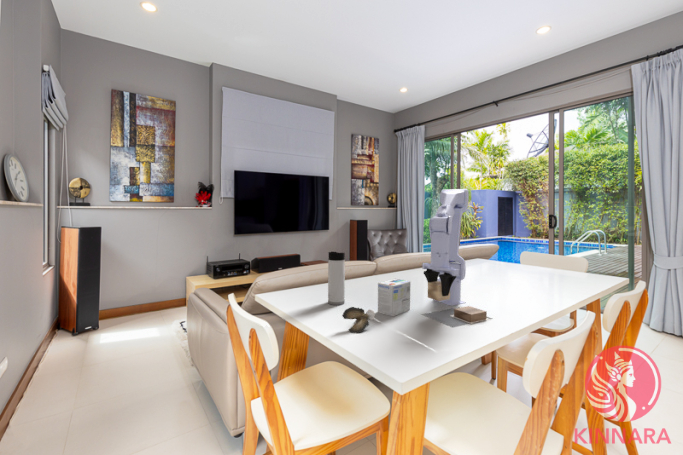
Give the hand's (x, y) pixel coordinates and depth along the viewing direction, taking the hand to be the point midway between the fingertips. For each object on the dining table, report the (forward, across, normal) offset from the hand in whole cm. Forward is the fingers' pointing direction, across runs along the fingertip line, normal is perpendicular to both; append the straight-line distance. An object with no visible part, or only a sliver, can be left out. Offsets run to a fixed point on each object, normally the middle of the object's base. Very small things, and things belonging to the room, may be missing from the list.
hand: (439, 293), depth 107 cm
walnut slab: (+7, +6, +8) cm, 12 cm away
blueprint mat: (+8, +3, +5) cm, 10 cm away
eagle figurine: (+8, -4, -29) cm, 30 cm away
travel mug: (+8, -30, -23) cm, 39 cm away
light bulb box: (+8, -11, -10) cm, 17 cm away
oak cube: (+2, 0, 0) cm, 2 cm away
